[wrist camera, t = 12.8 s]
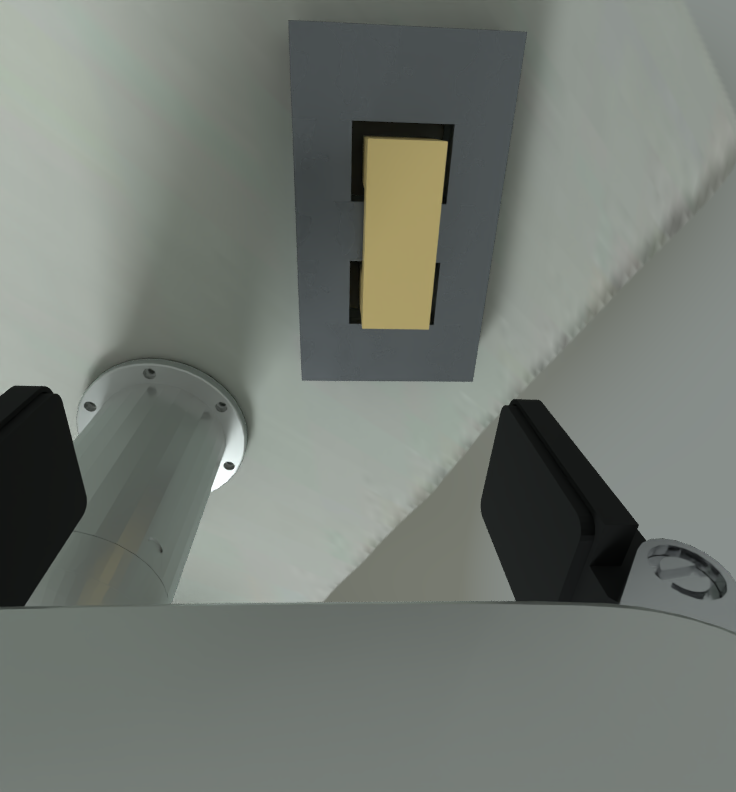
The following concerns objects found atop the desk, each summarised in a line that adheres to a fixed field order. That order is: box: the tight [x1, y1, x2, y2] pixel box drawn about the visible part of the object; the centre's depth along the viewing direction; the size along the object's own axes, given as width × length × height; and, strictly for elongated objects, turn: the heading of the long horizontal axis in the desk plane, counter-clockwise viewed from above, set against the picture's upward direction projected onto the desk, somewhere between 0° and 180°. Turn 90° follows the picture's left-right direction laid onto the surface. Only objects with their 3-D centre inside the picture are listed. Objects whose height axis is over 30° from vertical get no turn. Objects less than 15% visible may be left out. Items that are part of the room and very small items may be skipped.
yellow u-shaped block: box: [359, 135, 448, 330], centre depth 29 cm, size 10×4×6 cm, turn 178°
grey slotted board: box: [288, 20, 527, 382], centre depth 31 cm, size 20×12×3 cm, turn 178°
